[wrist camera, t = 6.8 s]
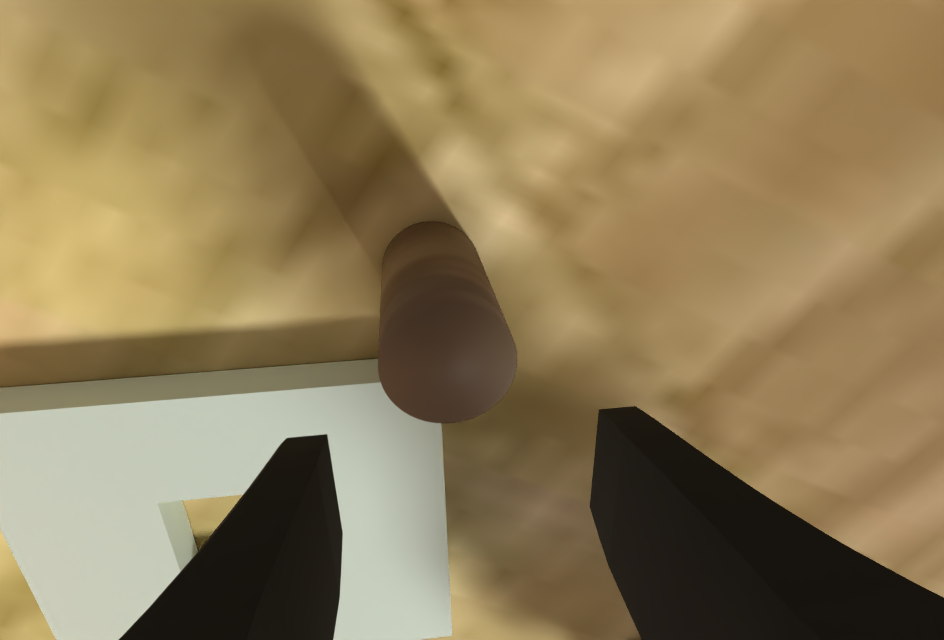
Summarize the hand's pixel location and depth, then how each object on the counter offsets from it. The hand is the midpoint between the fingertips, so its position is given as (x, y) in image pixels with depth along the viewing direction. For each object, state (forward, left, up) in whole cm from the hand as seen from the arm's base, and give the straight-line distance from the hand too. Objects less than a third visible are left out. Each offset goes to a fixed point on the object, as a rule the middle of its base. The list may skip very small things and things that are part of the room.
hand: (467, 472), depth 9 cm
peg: (0, 0, -9) cm, 9 cm away
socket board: (+7, +9, -9) cm, 15 cm away
